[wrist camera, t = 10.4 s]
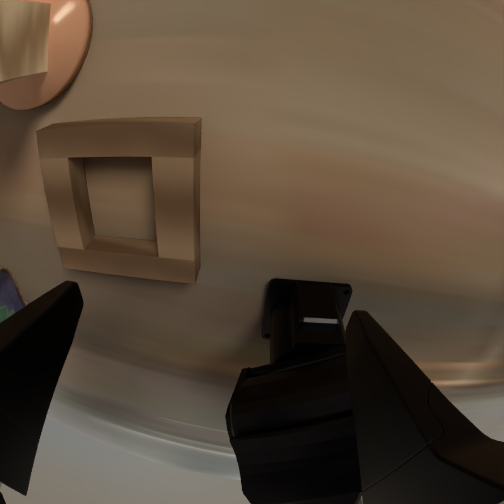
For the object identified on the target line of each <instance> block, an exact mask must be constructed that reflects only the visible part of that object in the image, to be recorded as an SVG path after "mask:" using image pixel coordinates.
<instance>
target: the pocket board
mask: <svg viewBox="0 0 504 504" xmlns="http://www.w3.org/2000/svg"><path fill="white" fill-rule="evenodd" d="M36 133H37V142H38V150H39V157H40V164H41V170H42V176H43V182H44V188H45V193H46V198H47V203H48V208H49V212H50V217H51V221H52V225H53V229H54V234H55V237H56V241H57V245H58V249H59V252H60V256H61V259H62V263H63V266H64V268H68V269H76V270H83V271H90V272H98V273H105V274H113V275H121V276H129V277H137V278H145V279H154V280H163V281H172V282H181V283H190V284H196V280H197V277H198V273H199V270H200V150H201V118H190V117H144V118H117V119H100V120H87V121H75V122H66V123H57V124H52V125H49V126H47V127H45V128H42V129H40V130H38V131H36ZM119 156H131V157H152V175H153V194H154V209H155V222H156V234H157V241H153V240H141V239H130V238H118V237H107V236H95V232H94V227H93V221H92V216H91V210H90V204H89V197H88V191H87V183H86V176H85V168H84V159H83V157H119Z"/></svg>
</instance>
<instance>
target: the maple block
mask: <svg viewBox="0 0 504 504" xmlns="http://www.w3.org/2000/svg"><path fill="white" fill-rule="evenodd" d="M50 9H51V3H42V2H31V1H17V0H0V84H2V83H6V82H10V81H13V80H17V79H20V78H24V77H27V76H31V75H35V74H39V73H43V72H47V71H48V37H49V20H50Z"/></svg>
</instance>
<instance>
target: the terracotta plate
mask: <svg viewBox="0 0 504 504" xmlns="http://www.w3.org/2000/svg"><path fill="white" fill-rule="evenodd" d="M17 1H31V2H42V3H51V9H50V20H49V37H48V71H47V72H43V73H39V74H35V75H31V76H27V77H24V78H20V79H17V80H13V81H10V82H6V83H2V84H0V102H1V103H2V104H4V105H5V106H7V107H9V108H12V109H16V110H27V109H31V108H35V107H38V106H41V105H44V104H46V103H48V102H50V101H52V100H53V99H55V98H56V97H57V96H59V95H60V94H61V93H62V92H63V91H64V90H65V89H66V88H67V87H68V86H69V85H70V84H71V82H72V81H73V80H74V78H75V77H76V75H77V74H78V72H79V70H80V68H81V66H82V65H83V62H84V60H85V58H86V55H87V52H88V49H89V46H90V41H91V37H92V28H93V17H92V9H91V6H90V2H89V0H17Z"/></svg>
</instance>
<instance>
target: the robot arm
mask: <svg viewBox="0 0 504 504" xmlns="http://www.w3.org/2000/svg"><path fill="white" fill-rule="evenodd" d="M275 284H277V285H278V286H273V285H275ZM344 290H347V291H344ZM351 295H352V288H351V286H350V285H349V284H342V283H329V282H315V281H303V280H290V279H278V278H276V279H272V280H271V281H270V282H269V288H268V295H267V302H266V308H265V315H264V322H263V328H262V337H263V338H264V339H269V340H270V364H268V365H264V366H259V367H255V368H250V367H249V368H244V369H242V371H241V373H240V376H239V379H238V381H237V384H236V386H235V389H234V392H233V394H232V397H231V400H230V402H229V405H228V408H227V412H226V415H225V418H226V424H227V431H228V434H229V438H230V443H231V445H232V447H233V450H234V452H235V455H236V458H237V462H238V465H239V471H240V477H241V484H242V491H243V494H244V495H245V496H246V498H247V499H248V501H249V502H250V503H251V504H362V500H363V504H504V442H501V441H497V440H494V439H491V438H489V437H488V436H486V435H485V434H483V433H482V432H481V431H480V430H479V429H478V428H477V427H476V426H475V425H474V424H473V423H472V422H470V421H469V420H468V419H467V418H466V417H465V416H464V415H463V414H462V413H461V412H460V411H459V410H458V409H457V408H456V407H455V406H454V405H453V404H452V403H451V402H450V401H449V400H448V399H447V398H446V397H445V396H444V395H443V394H442V393H441V392H440V390H439V389H438V388H437V387H436V386H435V385H434V384H433V383H431V380H430V379H429V378H428V377H427V376H426V375H425V374H424V373H423V372H422V370H421V369H420V368H419V367H418V366H417V365H416V364H415V363H414V362H413V360H412V359H411V358H410V357H409V356H408V355H407V354H406V353H405V352H404V351H403V350H402V348H401V347H400V346H399V345H398V344H397V343H396V342H395V341H394V340H393V339H392V338H391V337H390V335H389V334H388V333H387V332H386V331H385V330H384V329H383V328H382V327H381V326H380V325H379V324H378V323H377V322H376V321H375V319H374V318H373V317H372V316H371V315H370V314H369V313H368V312H367V311H364V310H355V311H353V312H352V315H351V317H350V320H349V322H348V325H347V327H346V332H345V330H344V325H343V321H342V319H343V317H344V314H345V311H346V309H347V306H348V303H349V300H350V297H351ZM82 309H83V298H82V295H81V292H80V289H79V286H78V284H77V282H73V281H65V282H63V283H61V284H60V285H58V286H56V287H55V288H53V289H52V290H50V291H48V292H47V293H45V294H44V295H42V296H40V297H39V298H37V299H36V300H34V301H33V302H31V303H29V304H28V305H26V306H25V307H23V308H22V309H20V310H19V311H17V312H16V313H14V314H13V315H11V316H10V317H8V318H7V319H5V320H4V321H2V322H1V323H0V487H1V484H2V483H3V484H5V485H7V486H8V487H10V488H12V489H14V490H16V491H17V492H19V493H21V494H23V495H25V496H26V494H27V491H28V486H29V481H30V476H31V472H32V467H33V463H34V459H35V455H36V451H37V447H38V446H37V445H38V443H39V439H40V436H41V432H42V429H43V425H44V422H45V419H46V415H47V412H48V409H49V406H50V403H51V400H52V397H53V394H54V391H55V388H56V385H57V382H58V379H59V376H60V374H61V371H62V368H63V366H64V363H65V360H66V358H67V355H68V352H69V350H70V347H71V344H72V341H73V338H74V335H75V331H76V328H77V325H78V321H79V318H80V315H81V312H82ZM361 496H362V499H361ZM0 504H6V503H5V500H4V498H3V495H2V493H1V492H0Z"/></svg>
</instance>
